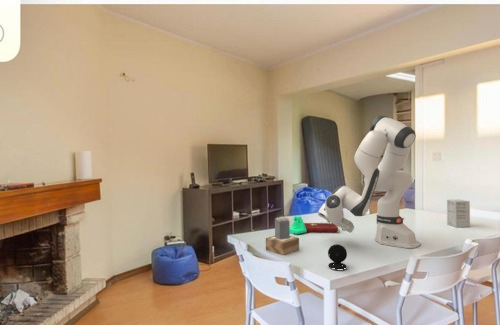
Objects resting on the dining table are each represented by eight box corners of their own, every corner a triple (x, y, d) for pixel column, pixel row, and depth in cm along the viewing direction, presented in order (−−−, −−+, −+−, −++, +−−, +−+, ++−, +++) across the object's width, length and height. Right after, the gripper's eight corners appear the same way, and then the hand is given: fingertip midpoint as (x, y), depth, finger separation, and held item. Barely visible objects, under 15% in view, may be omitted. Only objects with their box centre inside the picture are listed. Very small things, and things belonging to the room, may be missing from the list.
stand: (299, 249, 154) (299, 237, 154) (283, 255, 146) (283, 242, 145) (281, 244, 163) (281, 233, 162) (265, 249, 154) (265, 237, 154)
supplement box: (470, 227, 194) (470, 201, 194) (455, 227, 194) (455, 201, 194) (460, 223, 204) (460, 199, 203) (446, 224, 204) (446, 199, 204)
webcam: (346, 265, 131) (346, 242, 131) (347, 271, 124) (347, 247, 123) (328, 264, 133) (327, 241, 133) (328, 270, 126) (327, 246, 125)
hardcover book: (338, 233, 185) (338, 227, 185) (303, 233, 188) (303, 226, 188) (335, 229, 197) (335, 222, 197) (302, 228, 200) (302, 222, 199)
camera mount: (284, 231, 191) (284, 215, 191) (293, 230, 196) (293, 214, 195) (297, 235, 181) (297, 218, 181) (306, 233, 186) (306, 217, 185)
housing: (284, 235, 158) (284, 216, 157) (289, 238, 152) (289, 218, 152) (275, 237, 156) (274, 217, 155) (279, 239, 150) (279, 219, 150)
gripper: (356, 219, 156) (356, 230, 167) (321, 201, 167) (323, 212, 178) (350, 229, 154) (350, 239, 165) (315, 210, 165) (318, 221, 176)
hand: (336, 225), depth 171 cm, fingers open, 8 cm apart
